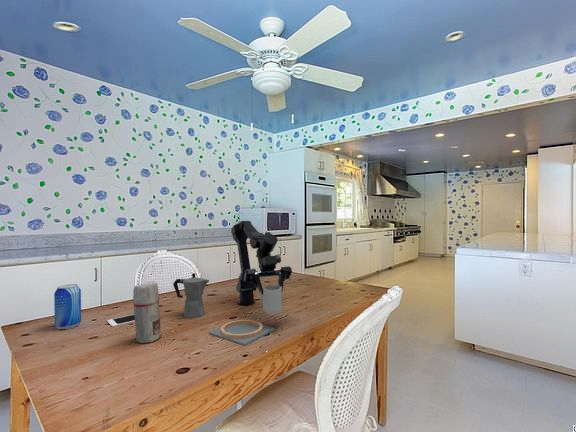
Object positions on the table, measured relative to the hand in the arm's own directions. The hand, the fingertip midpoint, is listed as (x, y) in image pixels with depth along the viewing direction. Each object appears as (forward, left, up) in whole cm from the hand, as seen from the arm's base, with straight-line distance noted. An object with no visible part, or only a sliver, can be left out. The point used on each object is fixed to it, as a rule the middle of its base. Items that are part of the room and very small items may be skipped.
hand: (272, 292), depth 114 cm
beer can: (-68, -44, -13) cm, 82 cm away
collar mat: (-7, -10, -13) cm, 18 cm away
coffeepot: (-39, -8, -13) cm, 42 cm away
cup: (-2, 0, -7) cm, 7 cm away
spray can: (-30, -33, -13) cm, 46 cm away
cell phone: (-55, -25, -14) cm, 62 cm away
